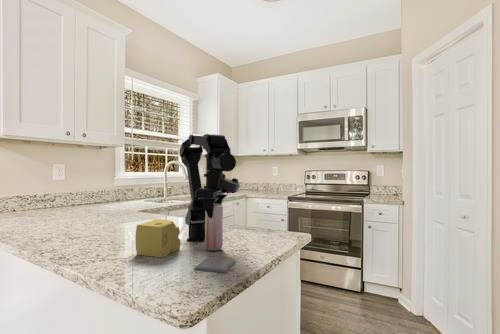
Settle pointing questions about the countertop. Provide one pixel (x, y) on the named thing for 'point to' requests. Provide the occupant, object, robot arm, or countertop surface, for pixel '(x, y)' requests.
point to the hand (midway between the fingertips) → (214, 216)
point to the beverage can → (214, 229)
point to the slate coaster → (215, 265)
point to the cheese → (157, 238)
